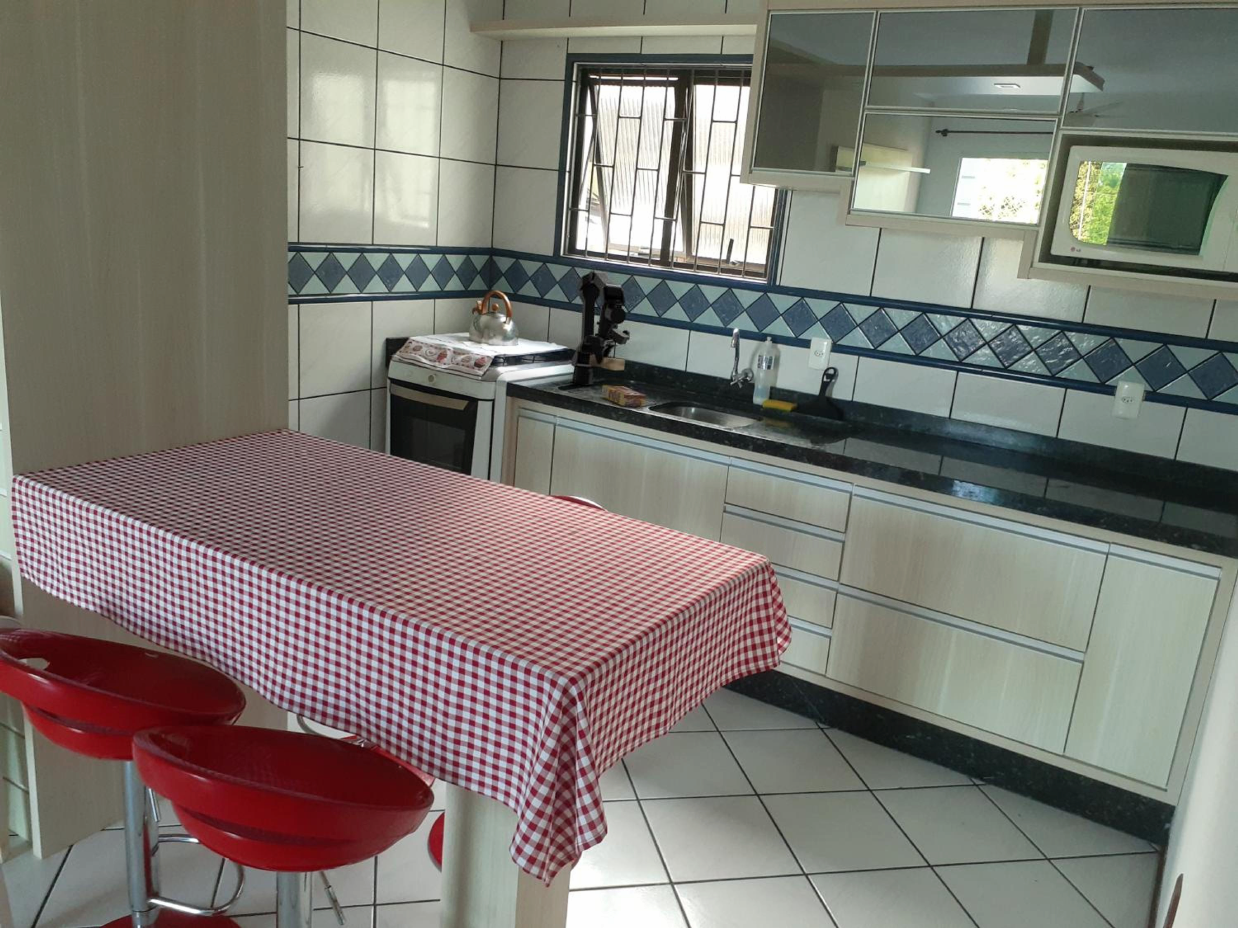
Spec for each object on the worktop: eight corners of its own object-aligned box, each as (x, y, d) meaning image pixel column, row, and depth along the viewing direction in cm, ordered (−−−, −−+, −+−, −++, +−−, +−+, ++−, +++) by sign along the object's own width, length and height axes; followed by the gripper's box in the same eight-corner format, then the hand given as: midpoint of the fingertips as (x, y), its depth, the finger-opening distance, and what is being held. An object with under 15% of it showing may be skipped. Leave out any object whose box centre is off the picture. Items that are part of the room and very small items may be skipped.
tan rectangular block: (586, 365, 341) (587, 355, 341) (596, 364, 346) (597, 355, 346) (614, 370, 335) (615, 360, 334) (623, 369, 340) (625, 360, 339)
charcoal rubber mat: (608, 400, 334) (608, 399, 334) (626, 397, 347) (626, 396, 347) (639, 407, 329) (639, 406, 329) (656, 404, 342) (656, 403, 342)
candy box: (600, 397, 338) (621, 405, 325) (602, 385, 337) (623, 393, 324) (622, 398, 343) (644, 406, 330) (623, 386, 342) (645, 394, 329)
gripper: (615, 324, 326) (608, 369, 330) (639, 323, 343) (632, 366, 346) (587, 319, 331) (580, 363, 335) (612, 318, 347) (605, 360, 351)
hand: (601, 363), depth 342 cm, fingers closed on tan rectangular block, 3 cm apart
